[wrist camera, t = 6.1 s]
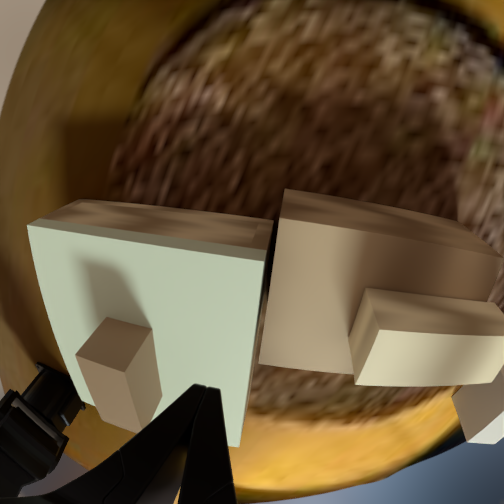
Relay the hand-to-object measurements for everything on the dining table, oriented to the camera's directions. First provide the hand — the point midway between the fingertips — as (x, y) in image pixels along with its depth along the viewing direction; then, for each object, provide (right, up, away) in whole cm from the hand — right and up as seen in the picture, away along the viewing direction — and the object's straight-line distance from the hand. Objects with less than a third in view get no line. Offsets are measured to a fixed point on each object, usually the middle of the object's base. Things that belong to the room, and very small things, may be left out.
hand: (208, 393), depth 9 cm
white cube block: (+25, -9, +13) cm, 30 cm away
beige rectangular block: (+10, +1, +4) cm, 11 cm away
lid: (-5, -2, +10) cm, 12 cm away
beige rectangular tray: (+1, 0, +13) cm, 13 cm away
